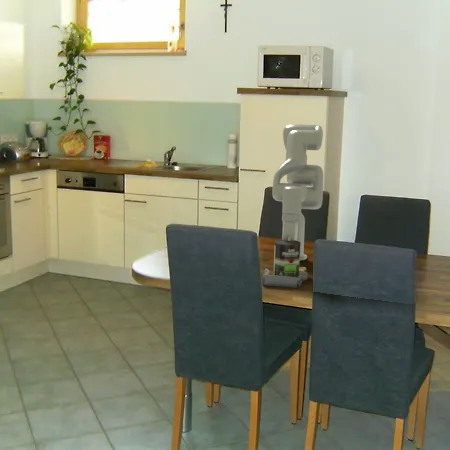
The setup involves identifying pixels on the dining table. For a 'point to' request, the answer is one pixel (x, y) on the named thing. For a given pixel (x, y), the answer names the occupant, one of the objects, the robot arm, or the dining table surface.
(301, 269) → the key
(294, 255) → the coffee can
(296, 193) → the robot arm
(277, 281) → the bracket
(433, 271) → the dining table surface
